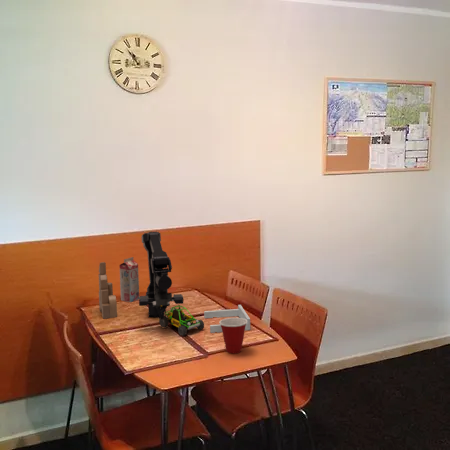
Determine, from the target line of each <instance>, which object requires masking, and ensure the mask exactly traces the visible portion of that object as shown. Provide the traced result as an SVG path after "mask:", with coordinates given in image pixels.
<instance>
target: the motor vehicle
mask: <svg viewBox="0 0 450 450" xmlns="http://www.w3.org/2000/svg"><path fill="white" fill-rule="evenodd" d="M161 307H162V305H161ZM183 310H186V312H187V313H188V314H189V315H188V314H186V313H184V311H183ZM158 323H159V325H160V328H162V327H164V328H163V329H165V328H167V327H169V324H170V325H173V326H174V327H176V328H177V332H178V334H179V336H181V335H182V336H181V337H184V336H186V335H187V333H188V331H190V330H192V329H195V328H196V329H198V330H199V329H200V330H202V329H204V328H205V322H204V321H203V320H202V319H196V318H195V317H194V316H193V315H192V314H191V312H190V311H189V310H188V309H187V308H186V307H185V306H182V305H181V304H177V305H175V306H172V307H170V310H167V309H166V310H165V312H164V316H163V319H161V318H160V317H159V320H158ZM200 330H199V331H200Z"/></svg>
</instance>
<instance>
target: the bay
mask: <svg viewBox="0 0 450 450" xmlns="http://www.w3.org/2000/svg"><path fill="white" fill-rule="evenodd" d="M203 317H204V319H213V317H217V318H233V317H238V318H243V319H246V320H247V324H246V327H245V331H251V318H250V316H249V315H248V313H247V312H246V310H245V309H244V308H243V306H242V304H238V305H237V308H234V309H218V310H204V312H203ZM209 332H210V334H215V332H217V333H223V332H222V328H221V325H220V324H210V325H209Z"/></svg>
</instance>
